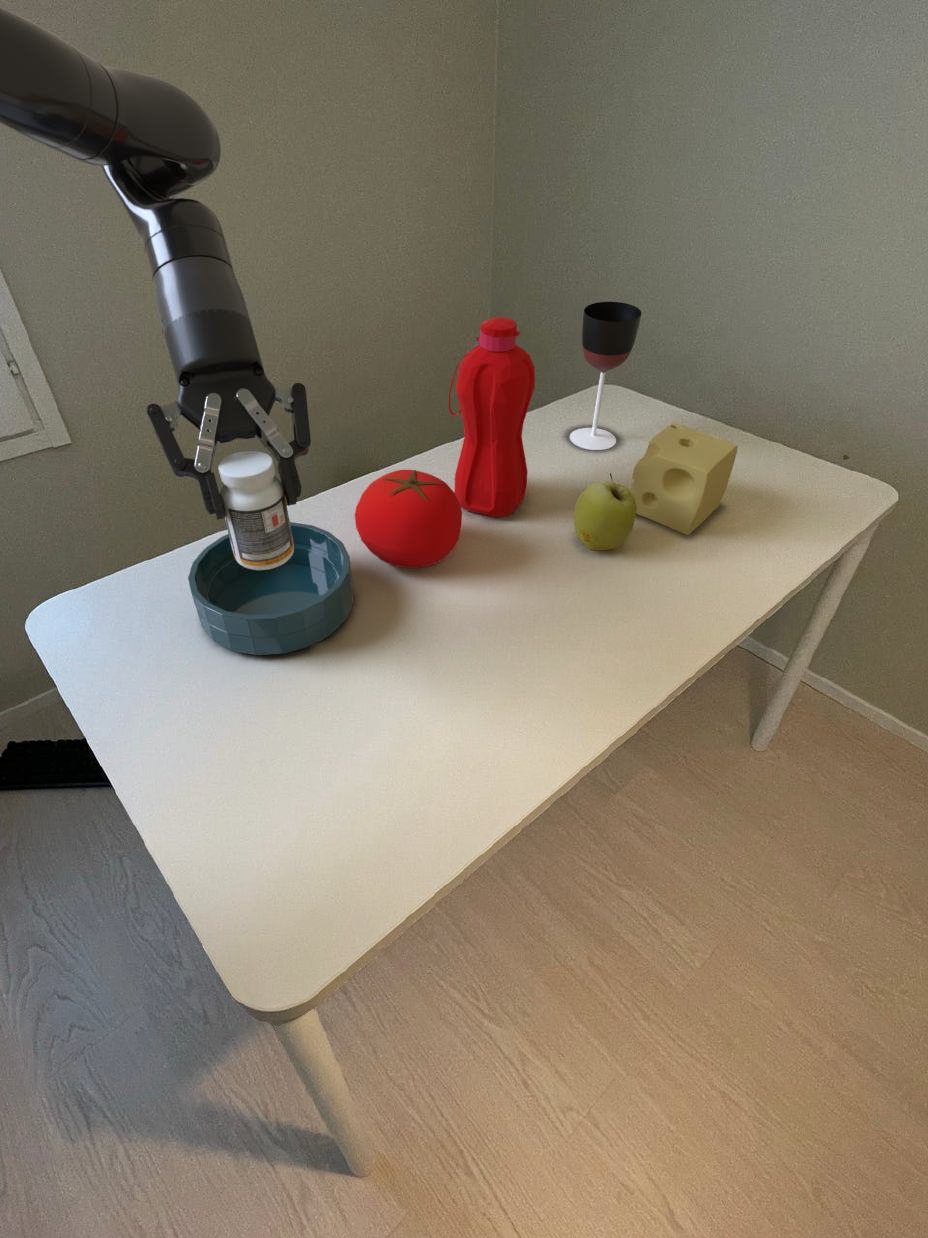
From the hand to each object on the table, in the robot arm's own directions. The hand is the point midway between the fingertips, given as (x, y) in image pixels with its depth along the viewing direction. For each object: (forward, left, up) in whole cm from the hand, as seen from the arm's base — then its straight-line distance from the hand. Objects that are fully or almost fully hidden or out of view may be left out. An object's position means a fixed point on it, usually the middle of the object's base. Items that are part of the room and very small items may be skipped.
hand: (257, 509), depth 63 cm
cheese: (+57, +10, -20) cm, 61 cm away
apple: (+43, +7, -20) cm, 48 cm away
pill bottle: (0, +2, -6) cm, 7 cm away
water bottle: (+33, +22, -20) cm, 44 cm away
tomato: (+19, +14, -20) cm, 31 cm away
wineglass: (+57, +32, -20) cm, 68 cm away
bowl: (+1, +10, -20) cm, 22 cm away
